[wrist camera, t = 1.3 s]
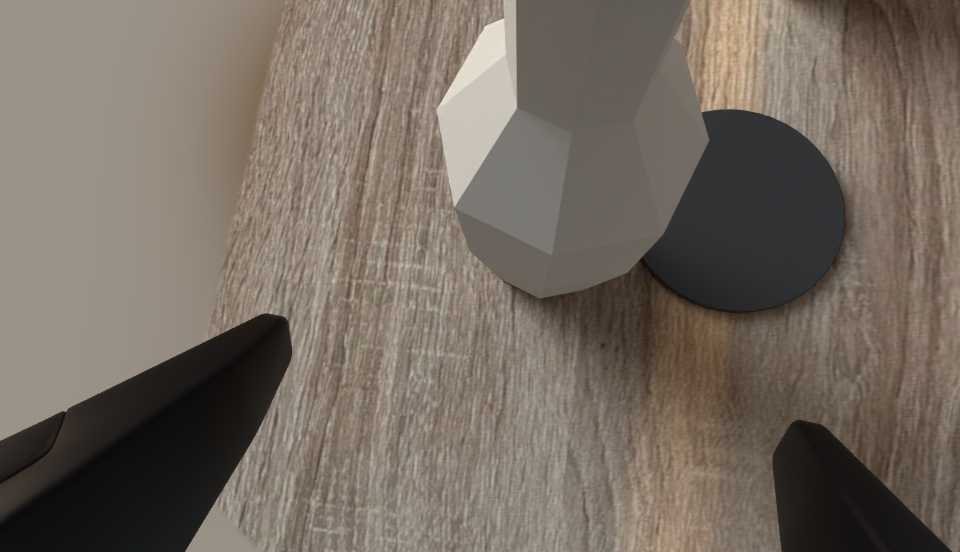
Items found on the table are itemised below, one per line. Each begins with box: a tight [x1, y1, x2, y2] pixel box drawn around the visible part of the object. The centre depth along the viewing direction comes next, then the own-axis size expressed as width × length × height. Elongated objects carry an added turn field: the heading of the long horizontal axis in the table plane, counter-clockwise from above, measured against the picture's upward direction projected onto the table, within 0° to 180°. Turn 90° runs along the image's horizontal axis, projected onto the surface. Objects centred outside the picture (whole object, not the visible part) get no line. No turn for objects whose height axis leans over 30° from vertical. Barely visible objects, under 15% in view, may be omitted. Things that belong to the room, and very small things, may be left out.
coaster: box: [641, 109, 845, 313], centre depth 23 cm, size 9×9×1 cm
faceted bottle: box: [437, 0, 709, 299], centre depth 13 cm, size 6×6×22 cm
